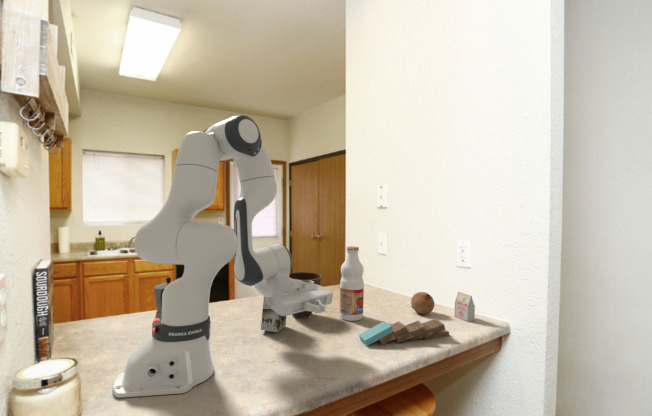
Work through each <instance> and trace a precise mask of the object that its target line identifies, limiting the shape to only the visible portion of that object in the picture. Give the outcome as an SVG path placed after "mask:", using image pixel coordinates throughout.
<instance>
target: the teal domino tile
mask: <svg viewBox="0 0 652 416" xmlns="http://www.w3.org/2000/svg"><path fill="white" fill-rule="evenodd" d="M391 325H392V324H389V323H387V322H386V321H385V320H384V321H383V320H382V322H380V323H378V324H375V325H374V326H373V327H370V328H369V329H367V330H365V331H363V332H361V333H359V334H358V337H359V340H360V341H361V342H362V343H363V344H364V346H366V347H369V346H370V345H372V344H374V343H376V342H377V340H379V339H381V338H383V337H385V336H386V335H388V334H390V333H392V332H393V329H392V326H391Z"/></svg>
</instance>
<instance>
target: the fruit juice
mask: <svg viewBox="0 0 652 416" xmlns="http://www.w3.org/2000/svg"><path fill="white" fill-rule="evenodd" d="M345 249H346V258H345V260H344V262H343V263H342V264H341V266H340V273H341V278H340V281H339V317H340V319H342V320H343V321H347V322H348V321H350V322H354V321H361V320H362V319H363V318H364V293H365V291H364V289H365V288H364V287H365V285H364V284H365V282H364V278H363V275H364V266H363V264H362V262H361V261H360V258H359V251H360V248H359V246H346V248H345Z"/></svg>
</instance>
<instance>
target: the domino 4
mask: <svg viewBox="0 0 652 416" xmlns="http://www.w3.org/2000/svg"><path fill="white" fill-rule="evenodd" d="M444 337H450V331H448V330H447V329H445V330H443V331H440V332H437V333H434V334H432V335H429V336H426V337H423V338H422V339H424V340H430V339H437V338H444Z"/></svg>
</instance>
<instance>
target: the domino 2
mask: <svg viewBox="0 0 652 416" xmlns="http://www.w3.org/2000/svg"><path fill="white" fill-rule="evenodd" d="M404 325H405V326H406V327H407V330H408V332H407V333H405V334H403V335H401V336H399V337H397V338H395V339H394V340H395V341H396V342H397V343H398V344H399V343H402V342H405V341H407V340H410V339H412V338H416V337H415V336H417V335H420V334H422V333H425V332H426V329H425V326H424V325H423V324H422V323H421V321H420V320H415V321H413V322H411V323H408V324H404Z"/></svg>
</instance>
